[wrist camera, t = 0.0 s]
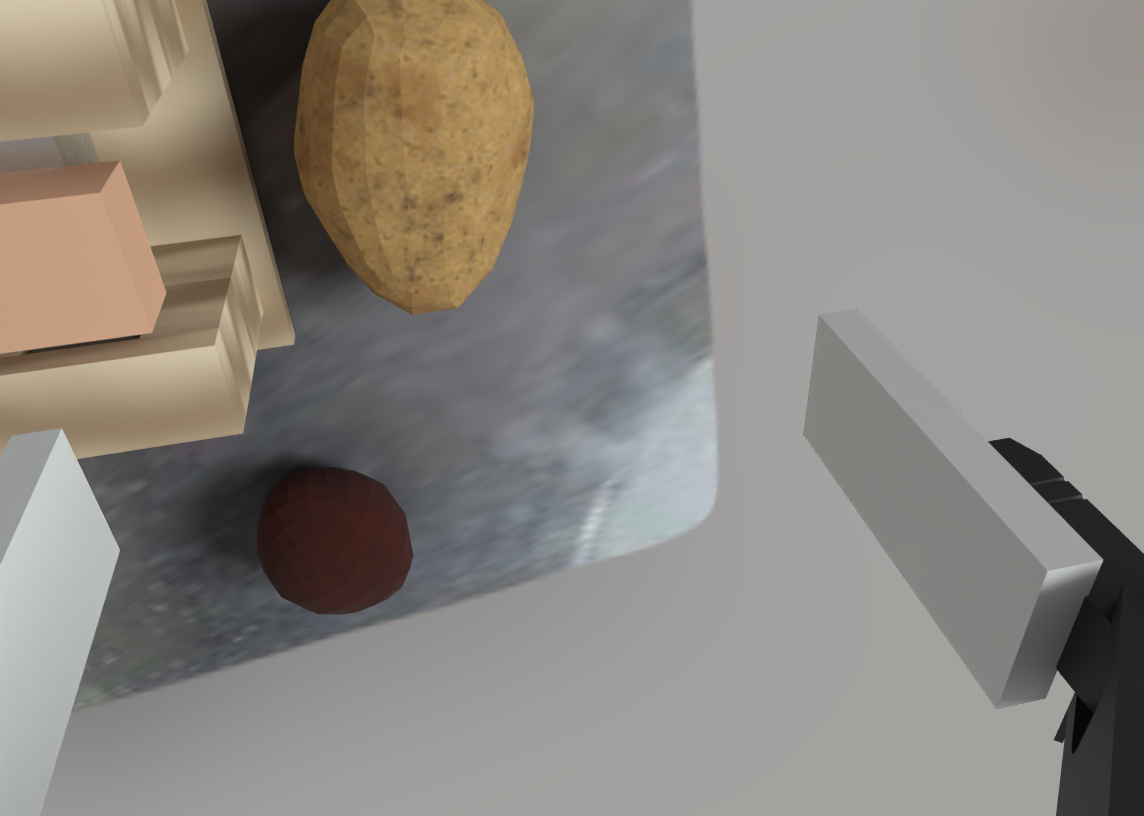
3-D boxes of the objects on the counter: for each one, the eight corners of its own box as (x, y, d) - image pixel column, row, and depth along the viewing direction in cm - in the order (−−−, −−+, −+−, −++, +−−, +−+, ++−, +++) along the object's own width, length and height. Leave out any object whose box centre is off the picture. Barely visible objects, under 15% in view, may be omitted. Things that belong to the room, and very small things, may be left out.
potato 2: (335, 408, 48) (333, 500, 42) (441, 505, 53) (454, 600, 47) (222, 487, 49) (204, 587, 43) (337, 574, 54) (335, 675, 48)
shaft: (-271, -400, 24) (-402, -440, 20) (-64, -406, 25) (-148, -446, 20) (85, 398, 39) (53, 470, 35) (207, 380, 40) (190, 449, 36)
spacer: (-106, 185, 29) (-148, 221, 26) (120, 160, 30) (99, 192, 27) (-38, 319, 32) (-70, 363, 29) (166, 292, 33) (152, 332, 30)
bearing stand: (-179, -102, 32) (-384, -60, 23) (172, -127, 33) (108, -96, 24) (42, 370, 43) (-37, 519, 34) (295, 334, 45) (281, 468, 36)
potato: (319, 268, 43) (313, 352, 37) (274, -56, 35) (257, -22, 29) (517, 257, 45) (546, 335, 39) (517, -54, 37) (553, -20, 31)
